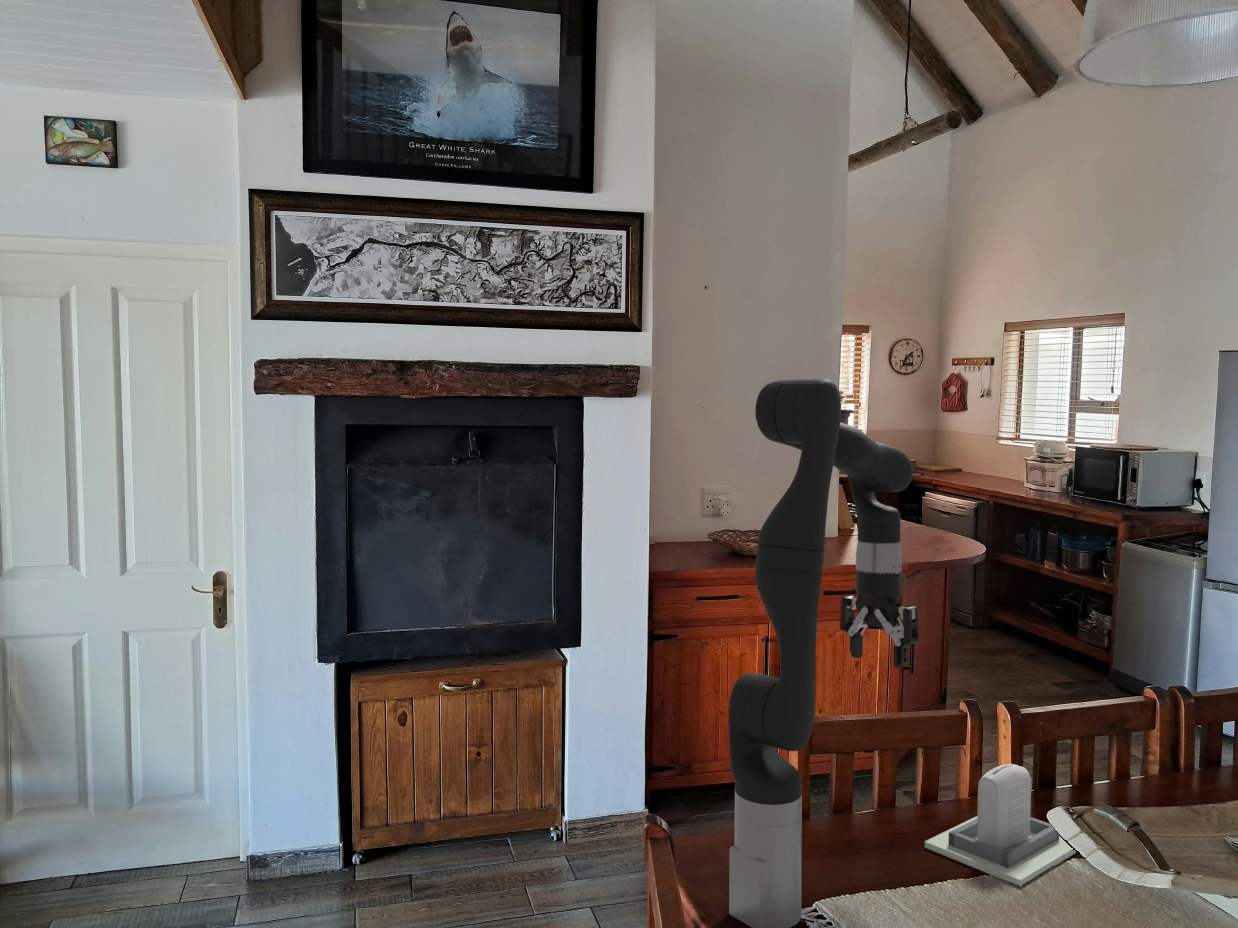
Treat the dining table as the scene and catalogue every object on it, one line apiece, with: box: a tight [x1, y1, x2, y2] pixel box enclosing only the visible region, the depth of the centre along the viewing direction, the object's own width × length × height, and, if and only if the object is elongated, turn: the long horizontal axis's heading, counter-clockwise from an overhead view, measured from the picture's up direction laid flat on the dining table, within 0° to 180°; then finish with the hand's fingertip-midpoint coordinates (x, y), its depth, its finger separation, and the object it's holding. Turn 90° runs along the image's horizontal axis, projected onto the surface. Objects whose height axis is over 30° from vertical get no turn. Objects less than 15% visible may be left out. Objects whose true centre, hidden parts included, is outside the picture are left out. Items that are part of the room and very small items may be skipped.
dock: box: [924, 815, 1076, 888], centre depth 144 cm, size 20×16×3 cm
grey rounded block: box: [977, 763, 1032, 850], centre depth 144 cm, size 10×4×12 cm, turn 124°
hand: (877, 662), depth 152 cm, fingers open, 8 cm apart
